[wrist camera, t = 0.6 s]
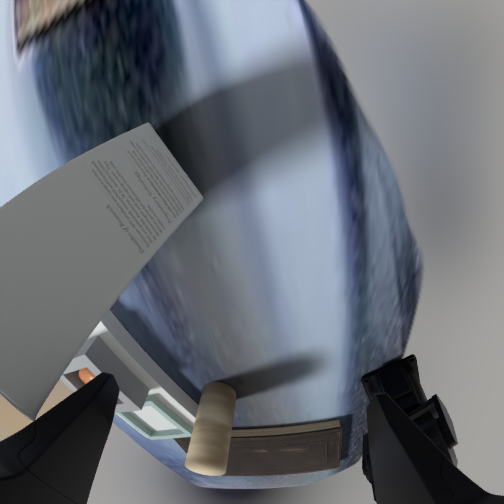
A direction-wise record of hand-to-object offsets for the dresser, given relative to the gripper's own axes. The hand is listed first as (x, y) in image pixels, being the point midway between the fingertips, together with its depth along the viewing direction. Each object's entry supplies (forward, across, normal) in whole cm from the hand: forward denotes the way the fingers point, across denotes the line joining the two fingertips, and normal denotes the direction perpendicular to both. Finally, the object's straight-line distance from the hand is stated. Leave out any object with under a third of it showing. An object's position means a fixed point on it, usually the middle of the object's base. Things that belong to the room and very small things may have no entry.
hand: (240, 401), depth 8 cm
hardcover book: (+14, -2, +34) cm, 37 cm away
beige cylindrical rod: (+14, +4, +18) cm, 23 cm away
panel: (+14, +15, +19) cm, 28 cm away
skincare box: (+13, +8, -4) cm, 16 cm away
